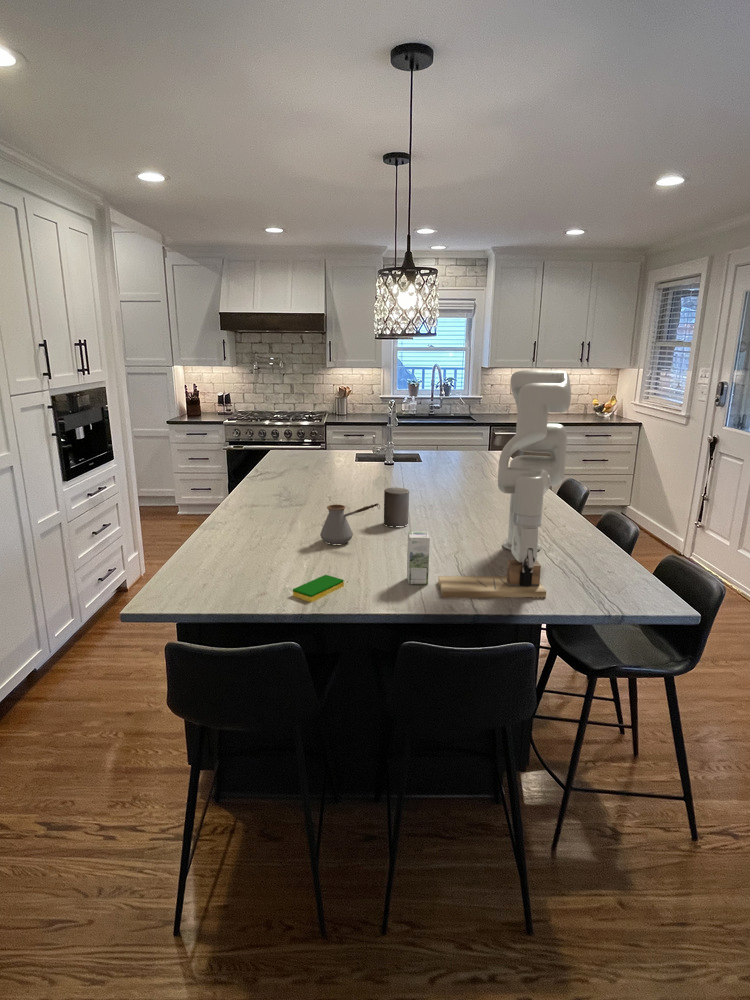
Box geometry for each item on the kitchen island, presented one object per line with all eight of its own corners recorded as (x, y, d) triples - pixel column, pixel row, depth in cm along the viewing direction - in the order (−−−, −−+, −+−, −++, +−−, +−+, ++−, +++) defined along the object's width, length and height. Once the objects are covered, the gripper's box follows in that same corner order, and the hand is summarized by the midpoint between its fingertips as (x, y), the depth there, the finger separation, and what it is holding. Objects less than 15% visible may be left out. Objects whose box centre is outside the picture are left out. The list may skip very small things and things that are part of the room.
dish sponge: (292, 597, 157) (291, 589, 157) (325, 582, 168) (325, 574, 167) (311, 603, 153) (311, 595, 152) (344, 587, 164) (344, 579, 163)
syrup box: (426, 577, 170) (427, 530, 167) (428, 585, 164) (429, 536, 161) (406, 577, 170) (407, 530, 166) (408, 585, 164) (409, 537, 161)
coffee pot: (315, 545, 198) (314, 503, 195) (326, 535, 209) (325, 495, 205) (375, 550, 193) (375, 507, 190) (383, 540, 204) (383, 499, 200)
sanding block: (506, 579, 163) (507, 560, 162) (534, 579, 163) (536, 560, 162) (510, 586, 159) (511, 565, 157) (539, 586, 159) (540, 565, 157)
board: (438, 582, 167) (438, 575, 166) (534, 582, 167) (535, 576, 166) (442, 597, 156) (442, 591, 156) (545, 597, 156) (546, 591, 156)
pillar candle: (379, 525, 222) (379, 487, 218) (390, 519, 230) (391, 482, 226) (402, 529, 217) (403, 491, 213) (412, 523, 226) (413, 485, 222)
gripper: (506, 510, 165) (502, 570, 169) (521, 528, 148) (516, 594, 153) (532, 510, 165) (528, 570, 169) (550, 528, 148) (544, 594, 153)
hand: (522, 581), depth 161 cm, fingers closed on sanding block, 4 cm apart
